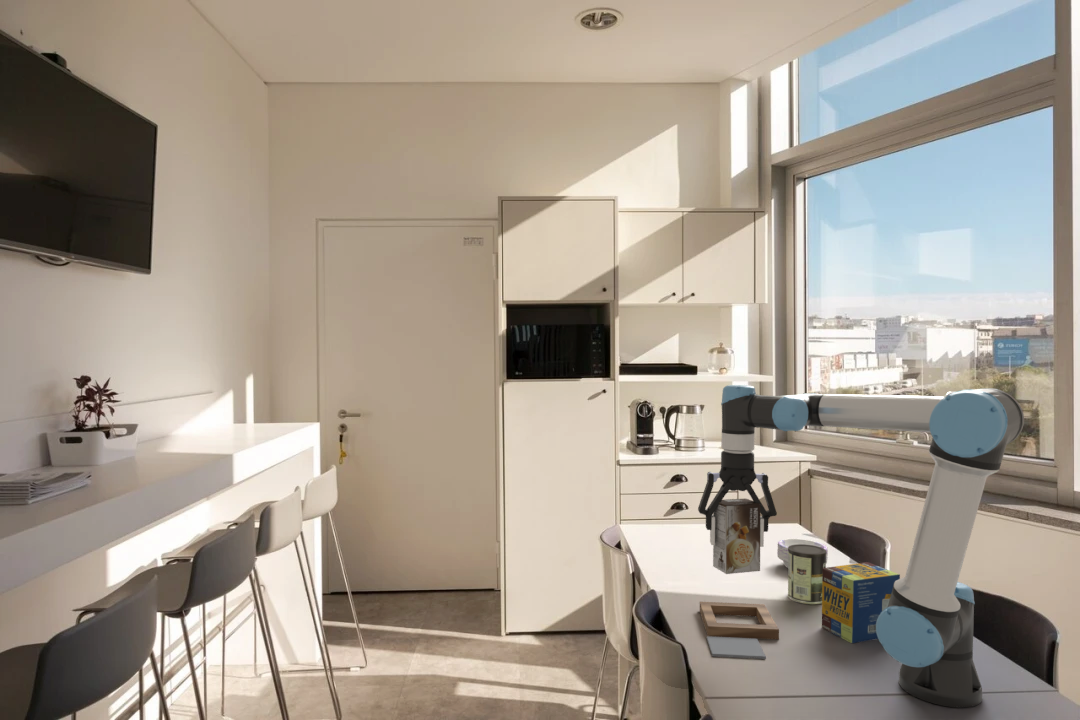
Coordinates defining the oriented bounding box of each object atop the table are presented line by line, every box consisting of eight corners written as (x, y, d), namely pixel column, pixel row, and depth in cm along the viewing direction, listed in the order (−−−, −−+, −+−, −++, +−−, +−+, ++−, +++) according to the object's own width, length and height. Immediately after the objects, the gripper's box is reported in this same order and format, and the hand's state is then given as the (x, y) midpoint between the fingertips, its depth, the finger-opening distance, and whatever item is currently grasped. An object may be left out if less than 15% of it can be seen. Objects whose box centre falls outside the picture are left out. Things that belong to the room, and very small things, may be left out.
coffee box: (745, 563, 173) (747, 497, 172) (760, 571, 166) (762, 503, 166) (711, 566, 170) (712, 499, 170) (725, 574, 164) (726, 505, 164)
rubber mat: (765, 659, 163) (765, 656, 163) (712, 656, 164) (712, 653, 164) (757, 641, 173) (757, 638, 173) (706, 638, 174) (706, 636, 174)
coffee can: (822, 593, 207) (822, 545, 207) (829, 606, 197) (829, 555, 197) (784, 590, 209) (785, 542, 209) (789, 603, 199) (790, 552, 199)
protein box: (820, 628, 181) (821, 567, 181) (867, 620, 187) (868, 561, 187) (851, 644, 172) (852, 580, 171) (900, 635, 177) (901, 573, 177)
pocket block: (778, 639, 174) (779, 629, 174) (707, 636, 176) (708, 626, 176) (764, 613, 191) (764, 604, 191) (699, 610, 193) (699, 601, 193)
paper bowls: (838, 572, 226) (838, 548, 226) (800, 578, 220) (800, 552, 220) (803, 559, 240) (804, 535, 240) (767, 564, 234) (767, 540, 234)
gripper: (784, 449, 170) (782, 541, 171) (686, 447, 173) (685, 538, 173) (791, 454, 163) (790, 550, 163) (689, 452, 165) (688, 547, 166)
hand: (736, 544), depth 168 cm, fingers closed on coffee box, 10 cm apart
